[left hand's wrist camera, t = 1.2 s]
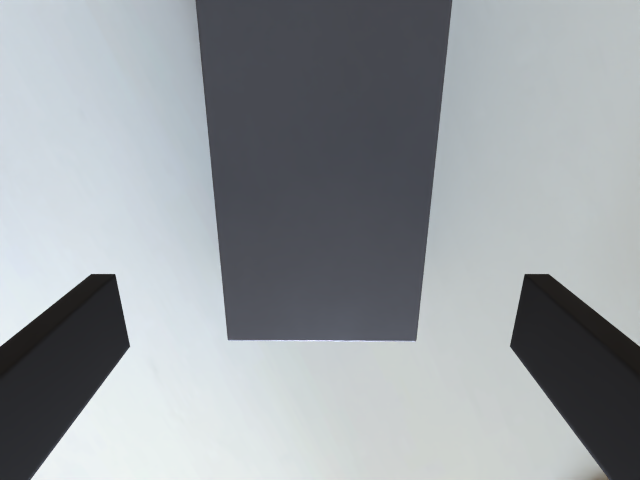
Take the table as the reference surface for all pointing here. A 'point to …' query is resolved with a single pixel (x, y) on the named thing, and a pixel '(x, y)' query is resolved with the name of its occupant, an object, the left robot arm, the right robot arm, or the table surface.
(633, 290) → the table surface
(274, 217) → the dark grey rectangular bar
